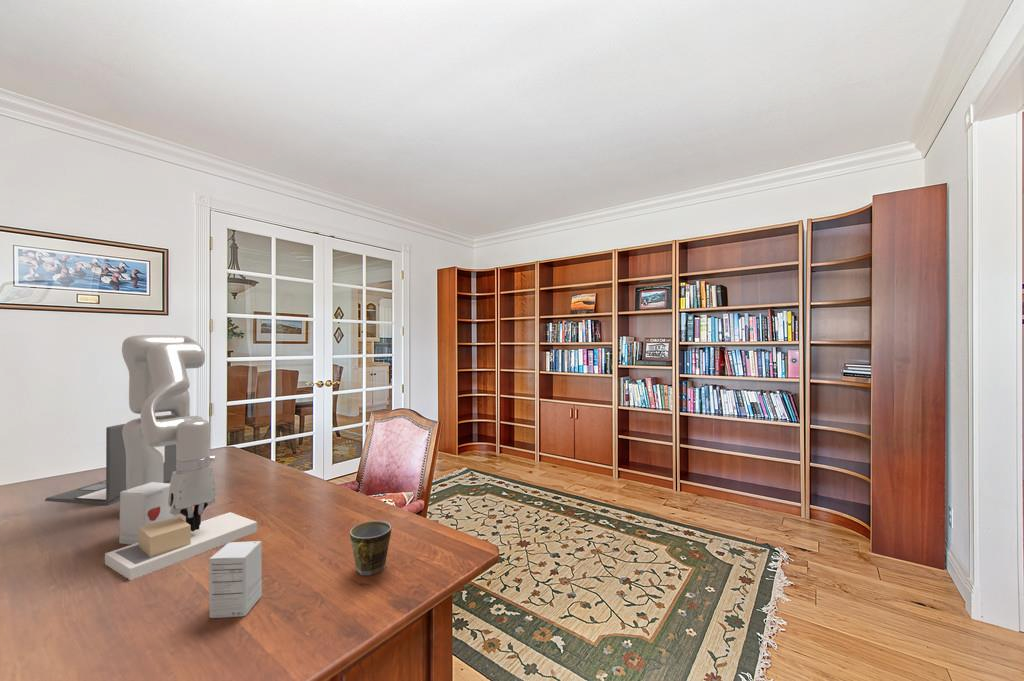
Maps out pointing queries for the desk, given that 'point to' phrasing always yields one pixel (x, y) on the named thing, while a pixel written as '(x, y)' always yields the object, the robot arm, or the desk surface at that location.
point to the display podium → (207, 537)
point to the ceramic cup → (370, 546)
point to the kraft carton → (164, 536)
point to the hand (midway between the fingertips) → (193, 529)
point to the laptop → (115, 473)
